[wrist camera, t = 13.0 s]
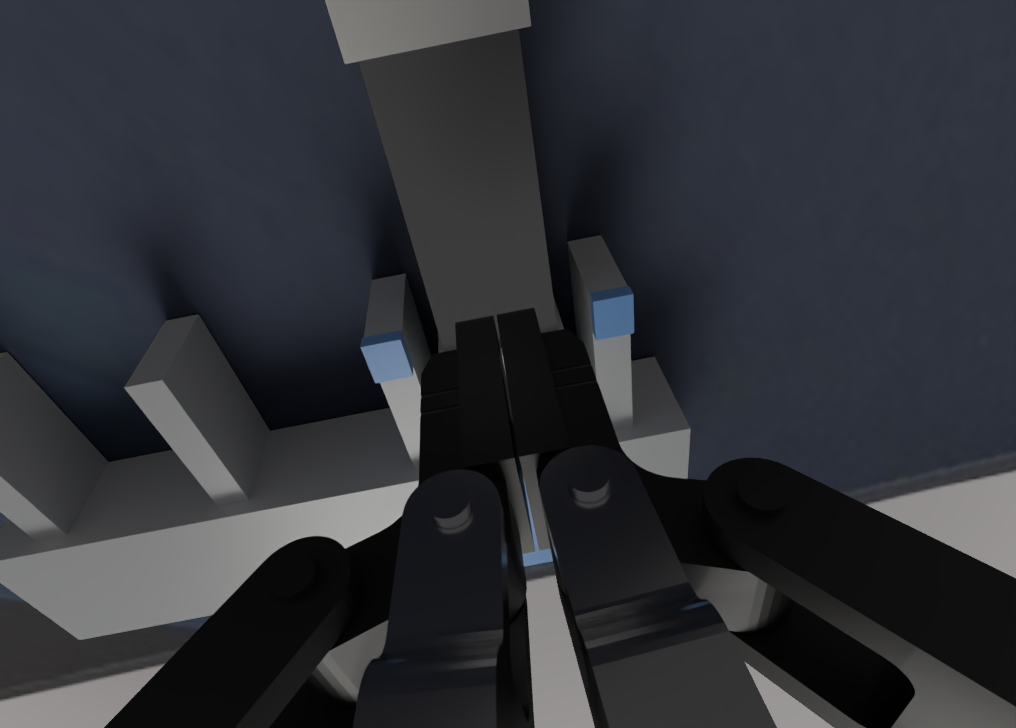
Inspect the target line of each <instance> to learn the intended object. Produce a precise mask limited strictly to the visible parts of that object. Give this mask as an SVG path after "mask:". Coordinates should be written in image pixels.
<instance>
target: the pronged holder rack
mask: <svg viewBox="0 0 1016 728" xmlns="http://www.w3.org/2000/svg"><path fill="white" fill-rule="evenodd" d="M567 245H568V255H569V265H570V274H571V284H572V294H573V304H574V313H575V323H576V333H577V337H578V338H579V339H580V340H581V341H582V342H583V343H584V344H585V347H586V350H587V353H588V356H589V359H590V362H591V366H592V367H593V370H594V373H595V376H596V379H597V383H598V384H599V387H600V390H601V393H602V396H603V399H604V402H605V404H606V407H607V410H608V413H609V416H610V419H611V422H612V424H613V427H614V430H615V433H616V436H617V439H618V442H619V444H620V446H621V448H622V450H623V451H624V453H625V454H626V455H627V456H628V457H629V458H630V459H631V461H633V462H634V463H635V464H637V465H638V466H640V467H642V468H643V469H645V470H647V471H650V472H652V473H655V474H658V475H662V476H667V477H673V478H684V479H687V476H688V460H689V445H690V429H691V428H690V426H689V424H688V422H687V420H686V418H685V416H684V414H683V412H682V410H681V408H680V406H679V404H678V402H677V400H676V398H675V396H674V394H673V392H672V390H671V388H670V386H669V384H668V382H667V380H666V378H665V376H664V374H663V372H662V370H661V368H660V366H659V364H658V362H657V360H656V358H655V356H654V357H649V358H644V359H639V360H634V361H631V339H630V334H632V333H634V295H633V292H632V290H631V288H630V286H627V284H626V282H625V280H624V278H623V276H622V274H621V272H620V270H619V269H618V267H617V265H616V263H615V261H614V259H613V257H612V255H611V253H610V251H609V249H608V247H607V246H606V244H605V242H604V240H603V238H602V236H601V235H598V236H593V237H588V238H583V239H578V240H573V241H568V242H567ZM360 348H361V350H362V352H363V355H364V357H365V360H366V362H367V365H368V367H369V369H370V372H371V374H372V377H373V379H374V382H375V383H380V384H381V386H382V389H383V391H384V394H385V396H386V399H387V401H388V404H389V406H390V408H385V409H380V410H375V411H370V412H365V413H360V414H354V415H349V416H344V417H339V418H334V419H329V420H323V421H318V422H313V423H308V424H303V425H298V426H292V427H287V428H282V429H277V430H272V431H270V430H269V428H268V427H267V425H266V423H265V422H264V420H263V418H262V417H261V415H260V414H259V412H258V410H257V409H256V407H255V405H254V404H253V402H252V400H251V399H250V397H249V396H248V394H247V392H246V391H245V389H244V387H243V386H242V384H241V382H240V381H239V379H238V378H237V376H236V374H235V373H234V371H233V369H232V368H231V366H230V364H229V363H228V361H227V360H226V358H225V356H224V355H223V353H222V351H221V350H220V348H219V346H218V345H217V343H216V342H215V340H214V338H213V337H212V335H211V333H210V332H209V330H208V329H207V327H206V325H205V324H204V322H203V320H202V319H201V317H200V315H199V314H197V315H192V316H187V317H182V318H177V319H172V320H167V321H165V322H164V324H163V326H162V327H161V329H160V331H159V332H158V334H157V335H156V337H155V339H154V340H153V342H152V343H151V345H150V347H149V348H148V350H147V351H146V353H145V355H144V356H143V358H142V359H141V361H140V363H139V364H138V366H137V367H136V369H135V371H134V372H133V374H132V375H131V377H130V379H129V380H128V382H127V383H126V385H125V387H124V388H125V390H126V391H127V392H128V393H129V395H130V396H131V397H132V399H133V400H134V401H135V402H136V404H137V405H138V406H139V407H140V409H141V410H142V411H143V412H144V414H145V415H146V416H147V417H148V419H149V420H150V421H151V423H152V424H153V425H154V426H155V428H156V429H157V430H158V431H159V433H160V434H161V435H162V436H163V438H164V439H165V440H166V441H167V443H168V444H169V445H170V446H171V448H172V449H173V450H168V451H163V452H158V453H153V454H148V455H142V456H137V457H132V458H127V459H122V460H117V461H111V462H108V461H107V460H106V459H105V458H104V457H103V455H102V454H101V453H100V452H99V451H98V450H97V449H96V448H95V447H94V446H93V445H92V443H91V442H90V441H89V440H88V439H87V438H86V437H85V436H84V435H83V434H82V433H81V431H80V430H79V429H78V428H77V427H76V426H75V425H74V424H73V423H72V422H71V421H70V419H69V418H68V417H67V416H66V415H65V414H64V413H63V412H62V411H61V410H60V409H59V408H58V406H57V405H56V404H55V403H54V402H53V401H52V400H51V399H50V398H49V397H48V396H47V394H46V393H45V392H44V391H43V390H42V389H41V388H40V387H39V386H38V385H37V384H36V382H35V381H34V380H33V379H32V378H31V377H30V376H29V375H28V374H27V373H26V372H25V370H24V369H23V368H22V367H21V366H20V365H19V364H18V363H17V362H16V361H15V360H14V358H13V357H12V356H11V355H10V354H9V353H8V352H4V353H0V512H1V513H2V514H4V515H5V516H6V517H7V518H8V519H7V520H6V522H5V523H4V525H3V526H2V528H1V529H0V583H1V584H3V585H4V586H5V587H7V588H8V589H10V590H11V591H12V592H14V593H15V594H16V595H18V596H19V597H21V598H22V599H23V600H25V601H26V602H28V603H29V604H30V605H32V606H33V607H34V608H36V609H37V610H39V611H40V612H41V613H43V614H44V615H46V616H47V617H48V618H50V619H51V620H52V621H54V622H55V623H57V624H58V625H59V626H61V627H62V628H64V629H65V630H66V631H68V632H69V633H70V634H72V635H73V636H75V637H76V638H77V639H79V640H82V639H88V638H93V637H98V636H103V635H109V634H114V633H119V632H125V631H130V630H135V629H141V628H146V627H151V626H156V625H162V624H167V623H172V622H178V621H183V620H188V619H194V618H199V617H204V616H209V615H213V614H214V613H215V612H216V611H217V610H218V609H219V608H220V607H221V606H222V605H223V604H224V603H225V601H226V600H227V599H228V598H229V597H230V596H231V595H232V594H233V593H234V592H235V591H236V590H237V589H238V588H239V587H240V586H241V585H242V584H243V583H244V582H245V581H246V580H247V579H248V578H249V577H250V575H251V574H252V573H253V572H254V571H255V570H256V569H257V568H258V567H259V566H260V565H261V564H262V563H263V562H264V561H265V560H266V559H267V558H268V557H269V556H270V555H271V554H273V553H274V552H275V551H277V550H278V549H279V548H281V547H283V546H284V545H286V544H288V543H290V542H292V541H295V540H297V539H301V538H304V537H310V536H324V537H329V538H331V539H334V540H336V541H337V542H339V543H340V544H341V545H342V546H343V547H344V548H348V547H350V546H352V545H354V544H356V543H358V542H360V541H362V540H364V539H366V538H368V537H370V536H372V535H374V534H376V533H378V532H380V531H382V530H384V529H385V528H387V527H388V526H390V525H391V524H393V523H394V522H395V521H396V520H397V519H399V518H400V517H401V516H402V514H403V510H404V506H405V504H406V502H407V500H408V498H409V497H410V495H411V494H412V492H413V491H414V490H415V489H416V488H417V487H418V483H419V451H420V416H421V412H420V403H421V373H422V372H423V370H424V368H425V366H426V365H427V363H428V361H429V359H430V358H431V353H430V350H429V347H428V344H427V340H426V337H425V334H424V331H423V328H422V324H421V321H420V318H419V315H418V312H417V309H416V305H415V302H414V299H413V296H412V293H411V289H410V286H409V283H408V280H407V277H406V274H400V275H395V276H390V277H385V278H380V279H375V280H372V283H371V290H370V297H369V304H368V311H367V318H366V324H365V331H364V337H363V338H362V340H361V347H360ZM523 478H524V477H523ZM524 484H525V482H524ZM525 490H526V486H525ZM526 497H527V503H528V509H529V515H530V521H531V528H532V534H533V540H534V546H535V552H530V553H525V554H522V555H523V562H524V566H530V565H535V564H540V563H545V562H551V561H553V559H552V554H551V549H545V550H540V551H539V547H538V542H537V537H536V533H535V528H534V524H533V519H532V514H531V510H530V505H529V500H528V496H527V491H526Z"/></svg>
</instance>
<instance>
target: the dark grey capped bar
mask: <svg viewBox="0 0 1016 728" xmlns="http://www.w3.org/2000/svg"><path fill="white" fill-rule="evenodd" d="M325 2H326V5H327V8H328V11H329V14H330V18H331V21H332V24H333V27H334V31H335V34H336V37H337V40H338V44H339V47H340V50H341V53H342V56H343V60H344V63H345V64H348V63H353V62H359V66H360V69H361V72H362V76H363V79H364V82H365V86H366V89H367V93H368V96H369V99H370V103H371V106H372V110H373V113H374V116H375V120H376V123H377V127H378V130H379V133H380V137H381V140H382V143H383V147H384V150H385V154H386V157H387V160H388V164H389V167H390V171H391V174H392V177H393V181H394V184H395V187H396V191H397V194H398V198H399V201H400V204H401V208H402V211H403V215H404V218H405V221H406V225H407V228H408V232H409V235H410V238H411V242H412V245H413V248H414V252H415V255H416V259H417V262H418V265H419V269H420V272H421V276H422V279H423V282H424V286H425V289H426V292H427V296H428V299H429V303H430V306H431V309H432V313H433V316H434V320H435V323H436V326H437V330H438V353H441V352H446V351H451V350H456V332H455V323H456V322H461V321H466V320H471V319H477V318H482V317H487V316H492V315H493V316H494V320H495V325H496V330H497V334H498V339H499V344H500V349H501V354H502V358H503V353H502V347H501V340H500V334H499V328H498V322H497V314H502V313H507V312H513V311H518V310H523V309H528V308H535V312H536V316H537V319H538V323H539V327H540V331H541V333H546V332H551V331H556V330H561V329H564V328H563V325H562V321H561V318H560V315H559V312H558V309H557V306H556V303H555V299H554V296H553V291H552V283H551V275H550V267H549V260H548V252H547V244H546V237H545V229H544V221H543V213H542V206H541V198H540V190H539V182H538V175H537V167H536V159H535V151H534V144H533V136H532V128H531V120H530V113H529V105H528V97H527V89H526V82H525V74H524V66H523V58H522V51H521V43H520V35H519V29H520V28H525V27H530V26H531V19H530V10H529V2H528V0H325ZM503 363H504V359H503ZM504 368H505V365H504ZM505 373H506V372H505Z"/></svg>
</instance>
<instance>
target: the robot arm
mask: <svg viewBox="0 0 1016 728" xmlns="http://www.w3.org/2000/svg"><path fill="white" fill-rule="evenodd" d="M497 322H498V328H499V334H500V340H501V347H502V353H503V358H502V354H501V349H500V344H499V339H498V334H497V330H496V325H495V320H494V316H493V315H492V316H487V317H482V318H477V319H471V320H466V321H461V322H456V323H455V332H456V350H451V351H446V352H441V353H436V354H432V356H431V358H430V359H429V361H428V363H427V365H426V366H425V368H424V370H423V372H422V373H421V403H420V412H421V416H420V451H419V483H418V487H417V488H416V489H415V490H414V491H413V492H412V494H411V495H410V497H409V498H408V500H407V502H406V504H405V506H404V510H403V514H402V516H401V517H400V518H399V519H397V520H396V521H395V522H394V523H393V524H391V525H390V526H388V527H387V528H385V529H384V530H382V531H380V532H378V533H376V534H374V535H372V536H370V537H368V538H366V539H364V540H362V541H360V542H358V543H356V544H354V545H352V546H350V547H348V548H344V547H343V546H342V545H341V544H340V543H339V542H337V541H336V540H334V539H331V538H329V537H324V536H310V537H304V538H301V539H297V540H295V541H292V542H290V543H288V544H286V545H284V546H283V547H281V548H279V549H278V550H277V551H275V552H274V553H273V554H271V555H270V556H269V557H268V558H267V559H266V560H265V561H264V562H263V563H262V564H261V565H260V566H259V567H258V568H257V569H256V570H255V571H254V572H253V573H252V574H251V575H250V577H249V578H248V579H247V580H246V581H245V582H244V583H243V584H242V585H241V586H240V587H239V588H238V589H237V590H236V591H235V592H234V593H233V594H232V595H231V596H230V597H229V598H228V599H227V600H226V601H225V603H224V604H223V605H222V606H221V607H220V608H219V609H218V610H217V611H216V612H215V613H214V614H213V615H212V616H211V617H210V618H209V619H208V620H207V621H206V622H205V623H204V624H203V625H202V626H201V627H200V629H199V630H198V631H197V632H196V633H195V634H194V635H193V636H192V637H191V638H190V639H189V640H188V641H187V642H186V643H185V644H184V645H183V646H182V647H181V648H180V649H179V650H178V651H177V652H176V654H175V655H174V656H173V657H172V658H171V659H170V660H169V661H168V662H167V663H166V664H165V665H164V666H163V667H162V668H161V669H160V670H159V671H158V672H157V673H156V674H155V675H154V676H153V677H152V679H151V680H150V681H149V682H148V683H147V684H146V685H145V686H144V687H143V688H142V689H141V690H140V691H139V692H138V693H137V694H136V695H135V696H134V697H133V698H132V699H131V700H130V701H129V702H128V704H127V705H126V706H125V707H124V708H123V709H122V710H121V711H120V712H119V713H118V714H117V715H116V716H115V717H114V718H113V719H112V720H111V721H110V722H109V723H108V724H107V725H106V726H105V727H104V728H535V726H534V712H533V695H532V678H531V662H530V644H529V629H528V628H529V627H528V612H527V611H528V610H527V599H526V589H527V587H526V576H525V569H524V562H523V555H522V554H525V553H530V552H535V546H534V540H533V534H532V528H531V521H530V515H529V509H528V503H527V497H526V491H527V496H528V500H529V505H530V510H531V514H532V519H533V524H534V528H535V533H536V537H537V542H538V547H539V551H540V550H545V549H551V554H552V559H553V564H554V569H555V574H556V579H557V584H558V589H559V594H560V599H561V603H562V606H563V610H564V614H565V617H566V621H567V625H568V629H569V632H570V636H571V639H572V643H573V647H574V651H575V654H576V658H577V662H578V666H579V670H580V673H581V677H582V680H583V684H584V688H585V692H586V695H587V699H588V703H589V707H590V710H591V714H592V718H593V722H594V726H595V728H777V727H776V725H775V723H774V721H773V719H772V717H771V715H770V713H769V711H768V709H767V707H766V705H765V703H764V701H763V699H762V697H761V695H760V693H759V691H758V689H757V687H756V685H755V683H754V680H753V678H752V676H751V674H750V672H749V670H748V668H747V666H746V664H745V662H746V663H748V664H749V665H750V666H752V667H753V668H754V669H756V670H757V671H758V672H760V673H761V674H762V675H764V676H765V677H766V678H768V679H769V680H770V681H772V682H773V683H775V684H776V685H777V686H779V687H780V688H781V689H783V690H784V691H785V692H787V693H788V694H789V695H791V696H792V697H793V698H795V699H796V700H798V701H799V702H801V703H802V704H803V705H805V706H806V707H807V708H808V709H810V710H811V711H813V712H814V713H815V714H817V715H818V716H819V717H821V718H822V719H824V720H825V721H826V722H827V723H829V724H830V725H831V726H833V727H834V728H1016V578H1014V577H1011V576H1009V575H1008V574H1006V573H1004V572H1001V571H999V570H997V569H995V568H993V567H991V566H989V565H987V564H985V563H983V562H981V561H979V560H977V559H975V558H973V557H971V556H969V555H967V554H965V553H963V552H961V551H959V550H957V549H954V548H952V547H951V546H949V545H946V544H944V543H942V542H940V541H938V540H936V539H934V538H932V537H930V536H928V535H926V534H924V533H922V532H920V531H918V530H916V529H914V528H912V527H910V526H908V525H906V524H903V523H902V522H900V521H898V520H896V519H893V518H891V517H889V516H887V515H885V514H883V513H881V512H879V511H877V510H875V509H873V508H871V507H869V506H867V505H865V504H863V503H861V502H859V501H857V500H855V499H853V498H851V497H849V496H847V495H845V494H843V493H840V492H838V491H836V490H834V489H832V488H830V487H828V486H826V485H824V484H822V483H820V482H818V481H816V480H814V479H812V478H810V477H808V476H806V475H804V474H802V473H800V472H798V471H796V470H794V469H792V468H790V467H787V466H785V465H783V464H780V463H778V462H775V461H771V460H767V459H761V458H741V459H736V460H732V461H729V462H727V463H724V464H722V465H721V466H719V467H718V468H716V469H715V470H714V471H713V472H712V473H711V474H710V476H709V477H708V479H707V481H706V480H695V479H684V478H673V477H667V476H662V475H658V474H655V473H652V472H650V471H647V470H645V469H643V468H642V467H640V466H638V465H637V464H635V463H634V462H633V461H631V459H630V458H629V457H628V456H627V455H626V454H625V453H624V451H623V450H622V448H621V446H620V444H619V442H618V439H617V436H616V433H615V430H614V427H613V424H612V422H611V419H610V416H609V413H608V410H607V407H606V404H605V402H604V399H603V396H602V393H601V390H600V387H599V384H598V383H597V379H596V376H595V373H594V370H593V367H592V366H591V362H590V359H589V356H588V353H587V350H586V347H585V344H584V343H583V342H582V341H581V340H580V339H579V338H578V337H576V336H575V335H574V334H573V333H572V332H571V331H569V330H568V329H561V330H556V331H551V332H546V333H541V331H540V327H539V323H538V319H537V316H536V312H535V308H528V309H523V310H518V311H513V312H507V313H502V314H497ZM503 359H504V363H503ZM504 365H505V368H504ZM505 372H506V373H505ZM523 477H524V478H523ZM524 482H525V484H524ZM525 486H526V490H525ZM744 661H745V662H744Z"/></svg>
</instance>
